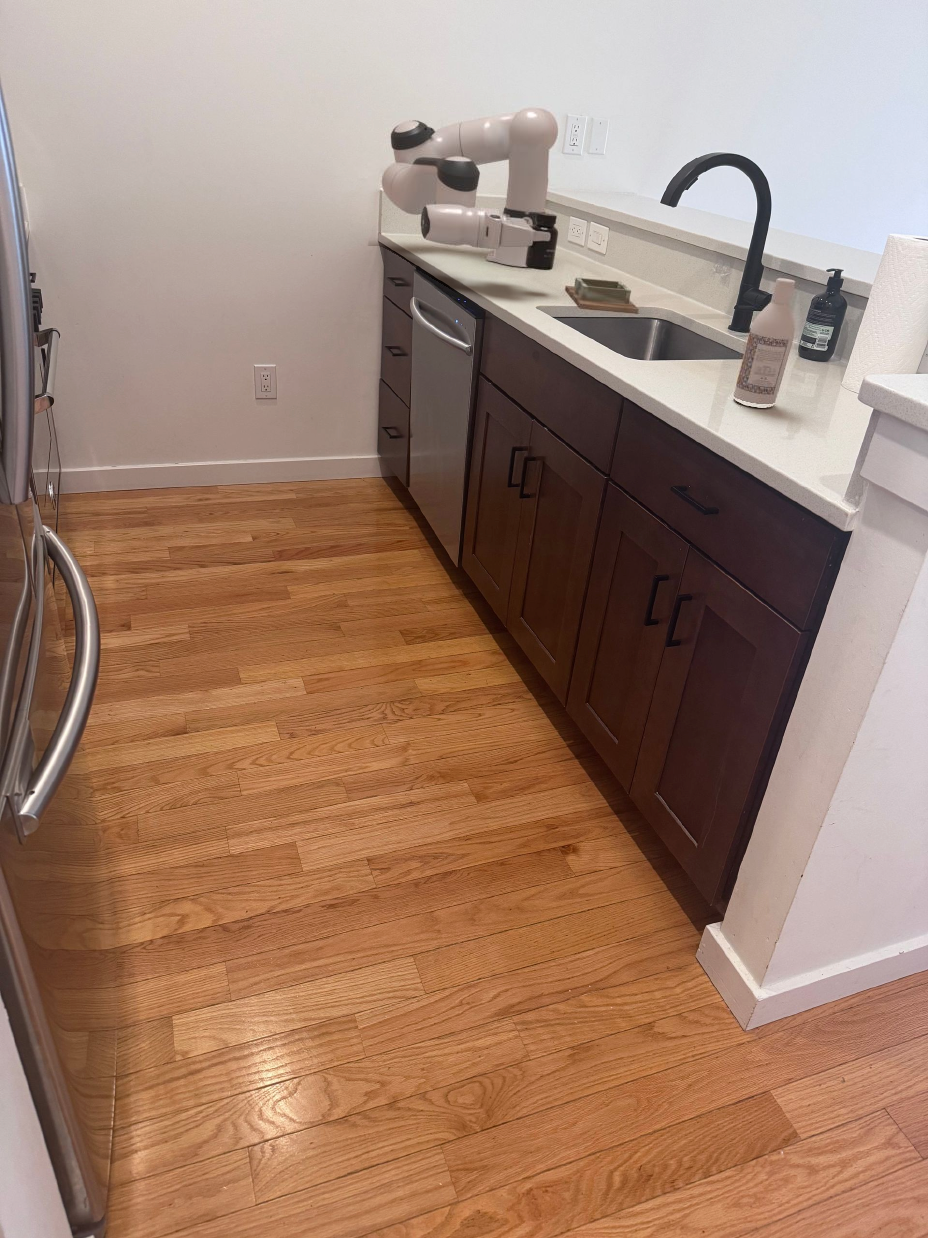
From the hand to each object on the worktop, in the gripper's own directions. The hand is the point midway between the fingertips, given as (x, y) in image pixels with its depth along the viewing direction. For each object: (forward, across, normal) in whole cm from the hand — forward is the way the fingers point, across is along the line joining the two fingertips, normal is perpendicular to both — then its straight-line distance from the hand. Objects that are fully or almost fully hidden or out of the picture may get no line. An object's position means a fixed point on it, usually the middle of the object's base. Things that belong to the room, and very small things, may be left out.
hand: (547, 233), depth 209 cm
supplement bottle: (-1, 0, -8) cm, 8 cm away
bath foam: (+26, +81, -14) cm, 86 cm away
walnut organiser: (+15, +2, -14) cm, 20 cm away
